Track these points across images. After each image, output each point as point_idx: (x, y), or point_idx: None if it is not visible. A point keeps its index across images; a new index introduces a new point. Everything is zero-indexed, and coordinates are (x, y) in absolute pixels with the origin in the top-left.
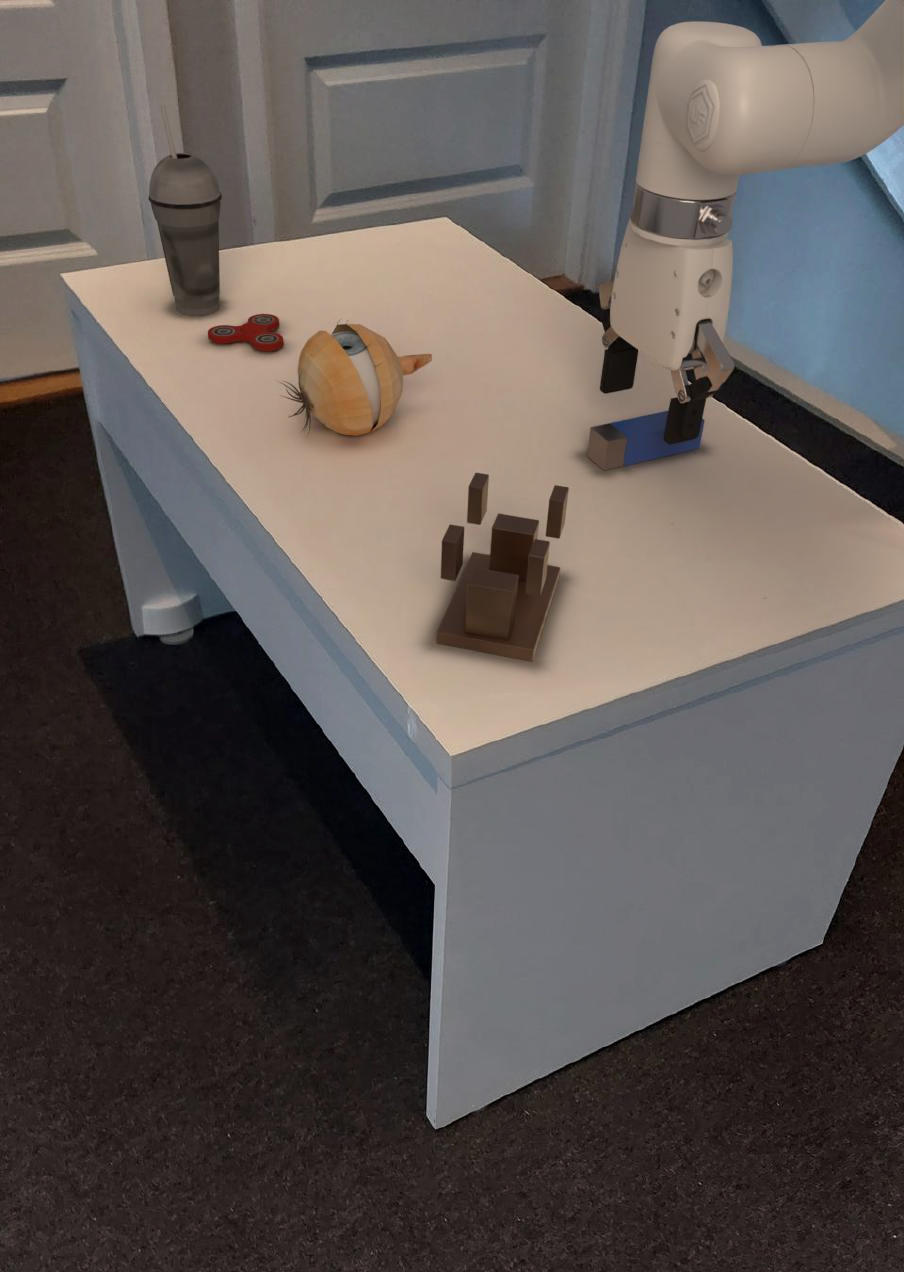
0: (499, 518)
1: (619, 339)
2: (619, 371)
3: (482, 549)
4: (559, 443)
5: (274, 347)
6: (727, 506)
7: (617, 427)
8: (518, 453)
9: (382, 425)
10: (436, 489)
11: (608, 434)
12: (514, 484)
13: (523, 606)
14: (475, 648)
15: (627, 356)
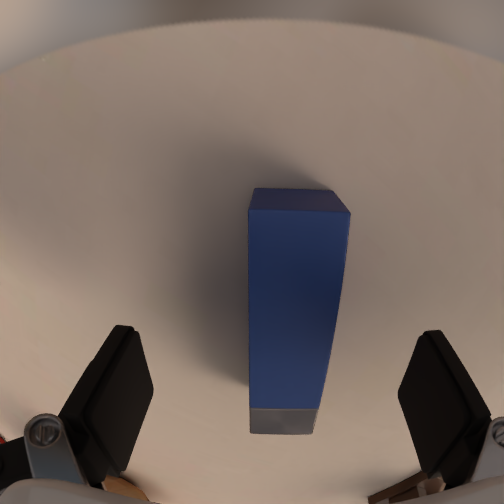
0: None
1: (87, 478)
2: (129, 407)
3: (358, 492)
4: (198, 396)
5: (2, 442)
6: (494, 281)
7: (274, 407)
8: (208, 438)
9: (134, 487)
10: (251, 493)
11: (290, 426)
12: (277, 463)
13: (438, 490)
14: None
15: (109, 427)
